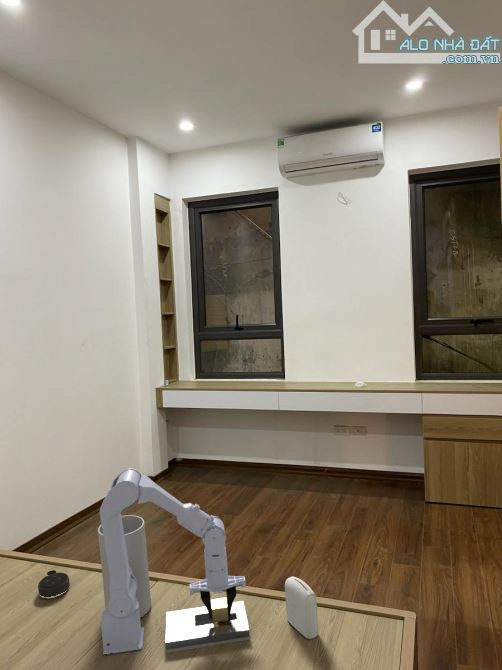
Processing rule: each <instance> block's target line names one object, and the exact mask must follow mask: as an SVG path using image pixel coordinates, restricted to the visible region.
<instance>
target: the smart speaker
mask: <svg viewBox="0 0 502 670" xmlns="http://www.w3.org/2000/svg"><path fill="white" fill-rule="evenodd" d="M69 586H70V587H71V585H70V576H69V575H68V574H66V573H64V572H53V573H51V574H48V575H46V576H44V577H43V578H42V579H41V580H39V582H38V585H37V589H38V595H39V594H40V595H41V596H44V597H51V596H56V595H58V594H61V593H63V592H65V591H66V590H67V589H68V588H69V589H70V587H69ZM69 589H68V590H69Z"/></svg>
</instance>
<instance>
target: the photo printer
mask: <svg viewBox="0 0 502 670" xmlns="http://www.w3.org/2000/svg"><path fill="white" fill-rule="evenodd" d="M284 594H285V595H284V597H285V608H286V611H285V612H286V619H287V621H288V622H289V624H291V625H292V627H293V628H295V630H296V631H298V632H299V633H300V634H301V635H302V636H303V637H305V638H306V639H309V640H311V639H312V640H313V639H315V638H316V637H317V636H318V634H319V621H318V618H319V617H318V616H319V615H318V605H317V596H316V594H315V592H314V591H313V590H312V588H311V587H310V586H309V585H308V584H307V583H306V582H305V581H304V580H302V579H301V578H298V577H296V576H290V577H288V578H287V579H286V580H285V583H284Z"/></svg>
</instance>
